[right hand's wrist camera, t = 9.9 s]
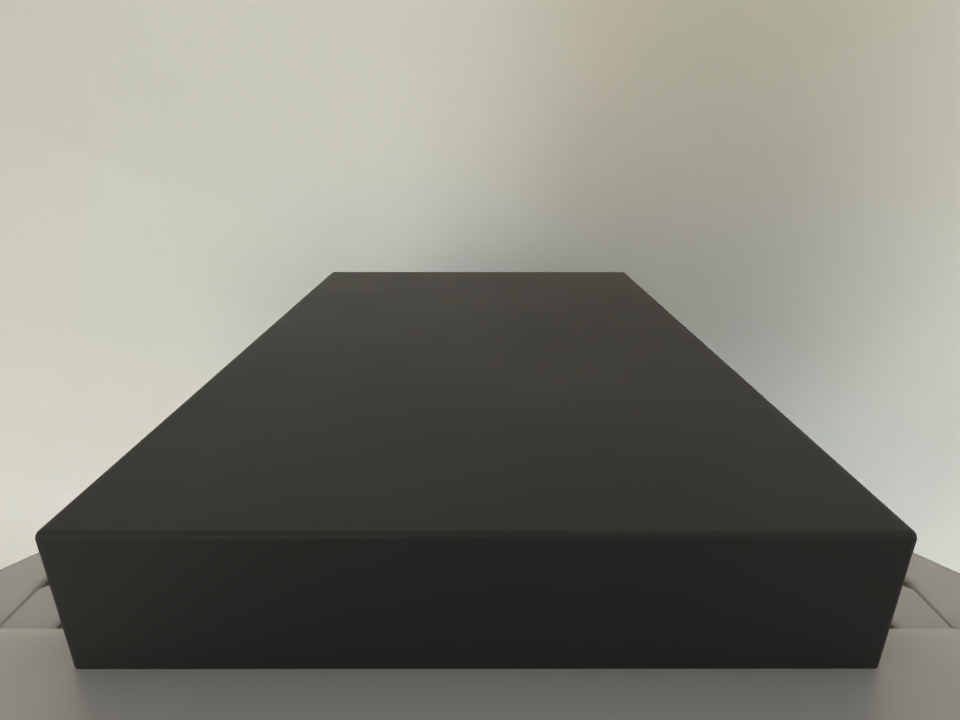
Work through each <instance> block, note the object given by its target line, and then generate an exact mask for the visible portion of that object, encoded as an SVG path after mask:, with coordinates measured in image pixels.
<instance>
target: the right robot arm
mask: <svg viewBox="0 0 960 720" xmlns="http://www.w3.org/2000/svg"><path fill="white" fill-rule="evenodd" d="M0 720H960V574H959V573H957V572H955V571H953V570H951V569H948V568H946V567H944V566H942V565H939V564H937V563H935V562H933V561H931V560H928V559H926V558H924V557H922V556H920V555H917V554H915V553H912V557H911V560H910V563H909V567H908V570H907V573H906V576H905V580H904V583H903V586H902V590H901V593H900V596H899V599H898V603H897V606H896V609H895V613H894V616H893V619H892V622H891V626H890V629H889V632H888V636H887V639H886V642H885V645H884V649H883V652H882V655H881V659H880V662H879V665H878V667H877V668H875V669H77V668H75V666H74V663H73V660H72V657H71V653H70V650H69V647H68V644H67V640H66V637H65V634H64V631H63V627H62V624H61V621H60V618H59V614H58V611H57V608H56V605H55V602H54V598H53V595H52V592H51V589H50V585H49V582H48V579H47V576H46V572H45V569H44V566H43V563H42V559H41V556H40V553H37V554H35V555H32V556H30V557H28V558H26V559H23V560H21V561H19V562H17V563H14V564H12V565H10V566H8V567H5V568H3V569H1V570H0Z"/></svg>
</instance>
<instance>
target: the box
mask: <svg viewBox="0 0 960 720" xmlns="http://www.w3.org/2000/svg"><path fill="white" fill-rule="evenodd" d="M35 540H36V543H37V546H38V550H39V553H40V556H41V559H42V563H43V566H44V569H45V572H46V576H47V579H48V582H49V585H50V589H51V592H52V595H53V598H54V602H55V605H56V608H57V611H58V614H59V618H60V621H61V624H62V627H63V631H64V634H65V637H66V640H67V644H68V647H69V650H70V653H71V657H72V660H73V663H74V666H75V668H77V669H875V668H877V667H878V665H879V662H880V659H881V655H882V652H883V649H884V645H885V642H886V639H887V636H888V632H889V629H890V626H891V622H892V619H893V616H894V613H895V609H896V606H897V603H898V599H899V596H900V593H901V590H902V586H903V583H904V580H905V576H906V573H907V570H908V567H909V563H910V560H911V557H912V553H913V550H914V547H915V544H916V540H917V536H916V533H915V532H914V531H913V530H912V529H911V528H910V527H909V526H908V525H907V524H905V523H904V522H903V521H902V520H901V519H900V518H899V517H898V516H897V515H895V514H894V513H893V512H892V511H891V510H890V509H889V508H888V507H886V506H885V505H884V504H883V503H882V502H881V501H880V500H879V499H877V498H876V497H875V496H874V495H873V494H872V493H871V492H870V491H868V490H867V489H866V488H865V487H864V486H863V485H862V484H861V483H859V482H858V481H857V480H856V479H855V478H854V477H853V476H852V475H851V474H849V473H848V472H847V471H846V470H845V469H844V468H843V467H842V466H840V465H839V464H838V463H837V462H836V461H835V460H834V459H833V458H831V457H830V456H829V455H828V454H827V453H826V452H825V451H824V450H822V449H821V448H820V447H819V446H818V445H817V444H816V443H815V442H813V441H812V440H811V439H810V438H809V437H808V436H807V435H806V434H805V433H803V432H802V431H801V430H800V429H799V428H798V427H797V426H796V425H794V424H793V423H792V422H791V421H790V420H789V419H788V418H787V417H785V416H784V415H783V414H782V413H781V412H780V411H779V410H778V409H776V408H775V407H774V406H773V405H772V404H771V403H770V402H769V401H767V400H766V399H765V398H764V397H763V396H762V395H761V394H760V393H759V392H757V391H756V390H755V389H754V388H753V387H752V386H751V385H750V384H748V383H747V382H746V381H745V380H744V379H743V378H742V377H741V376H739V375H738V374H737V373H736V372H735V371H734V370H733V369H732V368H730V367H729V366H728V365H727V364H726V363H725V362H724V361H723V360H721V359H720V358H719V357H718V356H717V355H716V354H715V353H714V352H713V351H711V350H710V349H709V348H708V347H707V346H706V345H705V344H704V343H702V342H701V341H700V340H699V339H698V338H697V337H696V336H695V335H693V334H692V333H691V332H690V331H689V330H688V329H687V328H686V327H684V326H683V325H682V324H681V323H680V322H679V321H678V320H677V319H675V318H674V317H673V316H672V315H671V314H670V313H669V312H668V311H667V310H665V309H664V308H663V307H662V306H661V305H660V304H659V303H658V302H656V301H655V300H654V299H653V298H652V297H651V296H650V295H649V294H647V293H646V292H645V291H644V290H643V289H642V288H641V287H640V286H638V285H637V284H636V283H635V282H634V281H633V280H632V279H631V278H629V277H628V276H627V275H626V274H625V273H623V272H333V273H332V274H331V275H329V276H328V277H327V278H326V279H325V280H324V281H323V282H321V283H320V284H319V285H318V286H317V287H316V288H315V289H313V290H312V291H311V292H310V293H309V294H308V295H307V296H306V297H304V298H303V299H302V300H301V301H300V302H299V303H298V304H296V305H295V306H294V307H293V308H292V309H291V310H290V311H288V312H287V313H286V314H285V315H284V316H283V317H282V318H280V319H279V320H278V321H277V322H276V323H275V324H274V325H272V326H271V327H270V328H269V329H268V330H267V331H266V332H264V333H263V334H262V335H261V336H260V337H259V338H258V339H257V340H255V341H254V342H253V343H252V344H251V345H250V346H249V347H247V348H246V349H245V350H244V351H243V352H242V353H241V354H239V355H238V356H237V357H236V358H235V359H234V360H233V361H231V362H230V363H229V364H228V365H227V366H226V367H225V368H223V369H222V370H221V371H220V372H219V373H218V374H217V375H215V376H214V377H213V378H212V379H211V380H210V381H209V382H208V383H206V384H205V385H204V386H203V387H202V388H201V389H200V390H198V391H197V392H196V393H195V394H194V395H193V396H192V397H190V398H189V399H188V400H187V401H186V402H185V403H184V404H182V405H181V406H180V407H179V408H178V409H177V410H176V411H174V412H173V413H172V414H171V415H170V416H169V417H168V418H166V419H165V420H164V421H163V422H162V423H161V424H160V425H159V426H157V427H156V428H155V429H154V430H153V431H152V432H151V433H149V434H148V435H147V436H146V437H145V438H144V439H143V440H141V441H140V442H139V443H138V444H137V445H136V446H135V447H133V448H132V449H131V450H130V451H129V452H128V453H127V454H125V455H124V456H123V457H122V458H121V459H120V460H119V461H117V462H116V463H115V464H114V465H113V466H112V467H111V468H110V469H108V470H107V471H106V472H105V473H104V474H103V475H102V476H100V477H99V478H98V479H97V480H96V481H95V482H94V483H92V484H91V485H90V486H89V487H88V488H87V489H86V490H84V491H83V492H82V493H81V494H80V495H79V496H78V497H76V498H75V499H74V500H73V501H72V502H71V503H70V504H68V505H67V506H66V507H65V508H64V509H63V510H62V511H61V512H59V513H58V514H57V515H56V516H55V517H54V518H53V519H51V520H50V521H49V522H48V523H47V524H46V525H45V526H43V527H42V528H41V529H40V530H39V531H38V532H37V534H36V537H35Z"/></svg>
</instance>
